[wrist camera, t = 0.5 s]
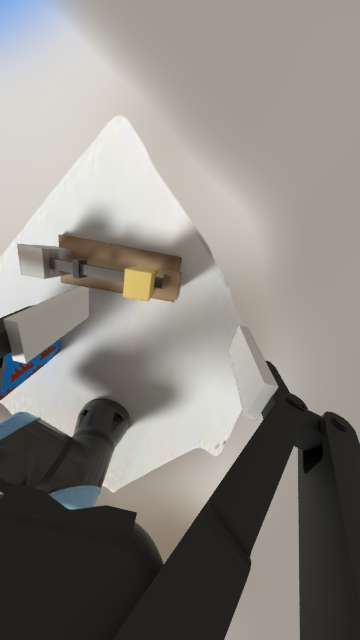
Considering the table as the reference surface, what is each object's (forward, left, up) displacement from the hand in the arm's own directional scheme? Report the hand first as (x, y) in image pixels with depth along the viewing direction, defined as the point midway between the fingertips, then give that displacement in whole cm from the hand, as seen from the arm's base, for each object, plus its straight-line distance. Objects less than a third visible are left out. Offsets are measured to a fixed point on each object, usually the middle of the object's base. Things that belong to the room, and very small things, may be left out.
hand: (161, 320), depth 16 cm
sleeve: (0, +5, -22) cm, 23 cm away
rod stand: (0, +12, -28) cm, 30 cm away
